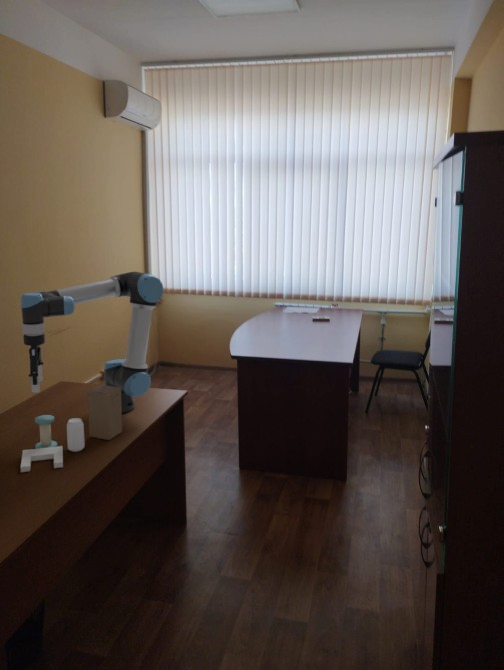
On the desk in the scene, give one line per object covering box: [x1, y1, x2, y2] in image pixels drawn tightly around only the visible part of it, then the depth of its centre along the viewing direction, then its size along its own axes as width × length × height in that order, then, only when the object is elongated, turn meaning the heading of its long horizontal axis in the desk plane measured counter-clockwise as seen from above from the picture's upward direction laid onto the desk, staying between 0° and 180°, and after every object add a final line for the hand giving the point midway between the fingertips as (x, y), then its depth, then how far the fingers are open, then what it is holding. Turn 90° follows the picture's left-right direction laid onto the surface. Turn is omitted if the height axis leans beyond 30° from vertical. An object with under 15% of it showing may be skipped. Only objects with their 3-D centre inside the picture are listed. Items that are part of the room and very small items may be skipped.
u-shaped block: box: [20, 445, 64, 473], centre depth 198 cm, size 14×14×2 cm
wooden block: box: [87, 384, 123, 441], centre depth 220 cm, size 10×10×20 cm
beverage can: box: [66, 417, 85, 453], centre depth 207 cm, size 6×6×12 cm
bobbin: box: [34, 414, 58, 449], centre depth 208 cm, size 8×8×12 cm
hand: (37, 386), depth 210 cm, fingers open, 13 cm apart
